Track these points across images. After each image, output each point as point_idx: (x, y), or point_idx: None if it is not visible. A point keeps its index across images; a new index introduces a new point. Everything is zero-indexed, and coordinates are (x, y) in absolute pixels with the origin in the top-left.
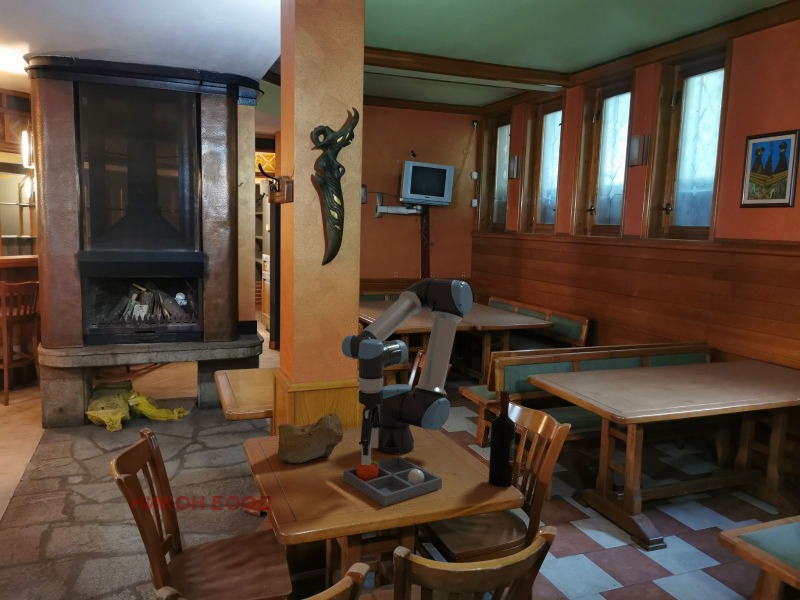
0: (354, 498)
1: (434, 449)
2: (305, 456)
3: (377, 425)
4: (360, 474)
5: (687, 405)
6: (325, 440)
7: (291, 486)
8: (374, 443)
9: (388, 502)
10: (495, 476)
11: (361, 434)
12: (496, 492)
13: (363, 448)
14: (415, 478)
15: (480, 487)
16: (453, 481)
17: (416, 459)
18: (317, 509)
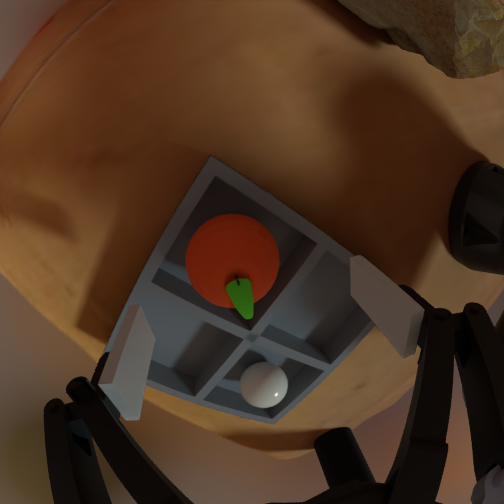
0: (118, 244)
1: (467, 302)
2: None
3: (418, 367)
4: (187, 249)
5: None
6: (408, 16)
7: (122, 19)
8: (361, 292)
9: None
10: (320, 453)
11: (47, 450)
12: (292, 446)
13: (92, 382)
14: (242, 395)
15: (306, 431)
16: (322, 399)
17: (427, 294)
18: (21, 181)
